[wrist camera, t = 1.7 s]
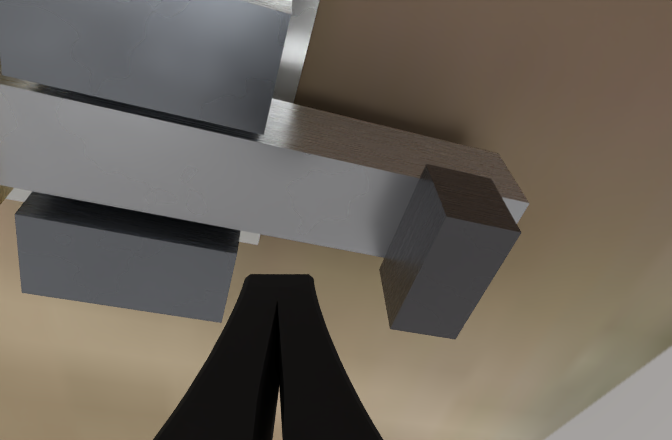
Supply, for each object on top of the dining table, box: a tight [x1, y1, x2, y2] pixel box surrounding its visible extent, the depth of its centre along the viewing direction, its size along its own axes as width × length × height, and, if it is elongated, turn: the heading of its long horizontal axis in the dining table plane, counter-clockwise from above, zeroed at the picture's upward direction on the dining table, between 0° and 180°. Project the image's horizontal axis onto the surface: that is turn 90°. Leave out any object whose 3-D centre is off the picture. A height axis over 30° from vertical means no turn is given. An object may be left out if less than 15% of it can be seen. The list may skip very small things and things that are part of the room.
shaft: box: [0, 59, 529, 339], centre depth 14 cm, size 19×4×6 cm, turn 74°
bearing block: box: [0, 0, 319, 323], centre depth 15 cm, size 14×12×6 cm
